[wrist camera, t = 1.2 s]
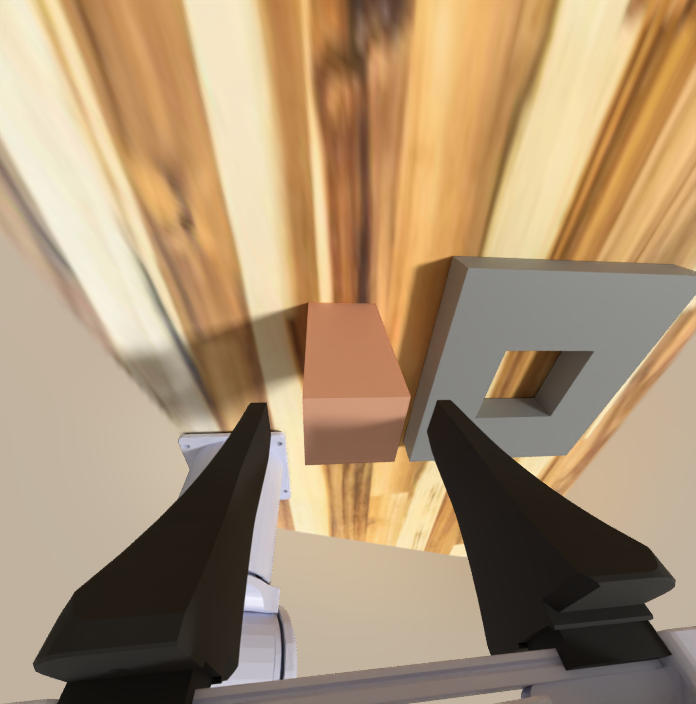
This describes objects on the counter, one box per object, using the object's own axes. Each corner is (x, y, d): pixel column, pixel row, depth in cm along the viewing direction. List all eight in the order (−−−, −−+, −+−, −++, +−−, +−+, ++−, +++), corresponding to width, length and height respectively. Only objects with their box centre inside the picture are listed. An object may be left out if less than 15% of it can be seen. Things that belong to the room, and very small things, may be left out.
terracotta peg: (368, 357, 20) (394, 461, 13) (309, 357, 19) (305, 465, 13) (375, 303, 17) (410, 396, 11) (308, 302, 17) (302, 398, 10)
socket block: (551, 436, 27) (566, 455, 25) (403, 441, 25) (409, 461, 23) (673, 264, 17) (710, 276, 16) (453, 255, 16) (468, 268, 14)
